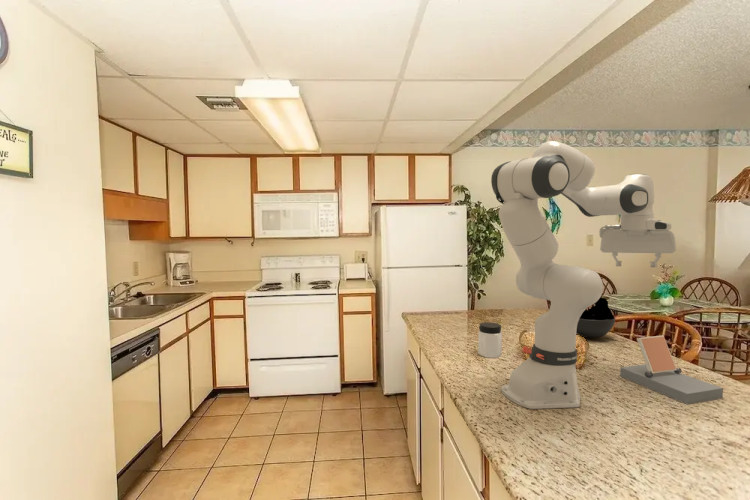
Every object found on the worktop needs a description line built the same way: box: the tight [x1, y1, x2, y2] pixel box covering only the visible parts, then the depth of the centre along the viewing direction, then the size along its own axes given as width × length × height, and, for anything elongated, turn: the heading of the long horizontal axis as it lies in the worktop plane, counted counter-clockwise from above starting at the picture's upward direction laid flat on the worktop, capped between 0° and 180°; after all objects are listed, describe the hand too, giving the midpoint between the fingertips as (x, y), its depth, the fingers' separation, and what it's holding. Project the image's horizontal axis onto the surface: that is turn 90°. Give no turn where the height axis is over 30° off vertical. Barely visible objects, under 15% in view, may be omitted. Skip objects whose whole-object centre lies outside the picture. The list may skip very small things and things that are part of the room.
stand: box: [619, 363, 724, 405], centre depth 117 cm, size 14×21×5 cm, turn 15°
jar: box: [477, 321, 503, 359], centre depth 147 cm, size 9×8×12 cm
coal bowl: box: [576, 297, 616, 339], centre depth 171 cm, size 20×20×19 cm
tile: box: [636, 335, 677, 373], centre depth 120 cm, size 10×11×1 cm
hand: (635, 266), depth 123 cm, fingers open, 8 cm apart
